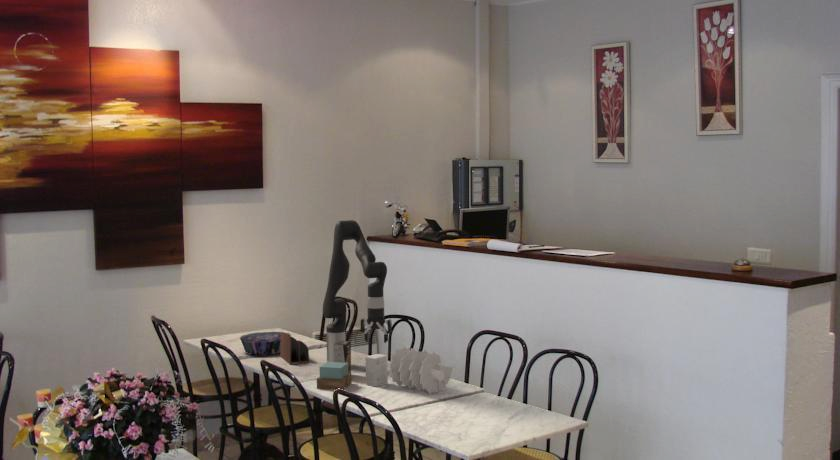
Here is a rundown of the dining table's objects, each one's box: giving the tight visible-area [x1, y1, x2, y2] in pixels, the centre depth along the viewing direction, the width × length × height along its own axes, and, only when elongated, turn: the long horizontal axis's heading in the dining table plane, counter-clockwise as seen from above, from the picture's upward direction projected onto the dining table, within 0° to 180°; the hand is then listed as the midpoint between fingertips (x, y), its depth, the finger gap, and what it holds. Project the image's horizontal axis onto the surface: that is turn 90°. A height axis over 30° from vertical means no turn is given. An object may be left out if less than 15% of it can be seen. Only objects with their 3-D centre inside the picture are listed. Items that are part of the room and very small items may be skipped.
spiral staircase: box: [388, 345, 453, 394], centre depth 375 cm, size 18×18×25 cm
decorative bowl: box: [239, 331, 292, 356], centre depth 455 cm, size 26×28×10 cm
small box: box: [365, 353, 389, 388], centre depth 385 cm, size 8×6×13 cm
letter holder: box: [279, 331, 310, 366], centre depth 434 cm, size 10×20×14 cm, turn 23°
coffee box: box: [333, 340, 352, 374], centre depth 399 cm, size 9×6×16 cm
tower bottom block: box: [316, 372, 352, 391], centre depth 383 cm, size 12×12×5 cm
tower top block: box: [318, 361, 348, 379], centre depth 382 cm, size 10×10×5 cm
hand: (376, 342), depth 384 cm, fingers open, 8 cm apart
